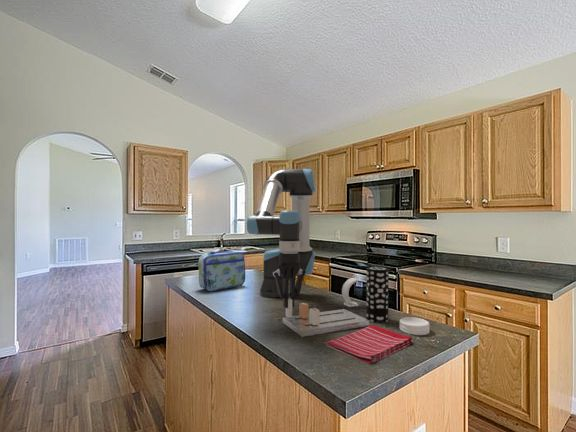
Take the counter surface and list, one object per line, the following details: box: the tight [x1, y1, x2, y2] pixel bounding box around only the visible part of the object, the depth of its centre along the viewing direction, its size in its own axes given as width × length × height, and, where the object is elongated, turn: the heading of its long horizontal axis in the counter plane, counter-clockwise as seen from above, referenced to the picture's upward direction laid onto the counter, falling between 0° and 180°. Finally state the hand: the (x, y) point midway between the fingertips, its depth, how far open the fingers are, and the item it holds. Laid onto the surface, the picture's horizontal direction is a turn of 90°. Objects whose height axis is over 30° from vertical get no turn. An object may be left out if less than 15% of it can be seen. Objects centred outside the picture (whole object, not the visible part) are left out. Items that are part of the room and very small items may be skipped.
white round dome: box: [399, 316, 431, 336], centre depth 113 cm, size 10×10×4 cm
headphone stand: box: [341, 277, 359, 308], centre depth 145 cm, size 5×6×12 cm
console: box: [282, 308, 370, 338], centre depth 119 cm, size 16×28×2 cm, turn 114°
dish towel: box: [325, 324, 413, 365], centre depth 100 cm, size 17×24×3 cm
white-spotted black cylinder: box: [365, 266, 390, 324], centre depth 125 cm, size 8×8×20 cm
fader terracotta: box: [298, 302, 310, 319], centre depth 120 cm, size 3×2×5 cm
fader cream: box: [309, 307, 320, 325], centre depth 112 cm, size 3×2×5 cm
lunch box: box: [197, 250, 246, 293], centre depth 178 cm, size 26×11×21 cm, turn 130°
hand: (288, 316), depth 117 cm, fingers closed
